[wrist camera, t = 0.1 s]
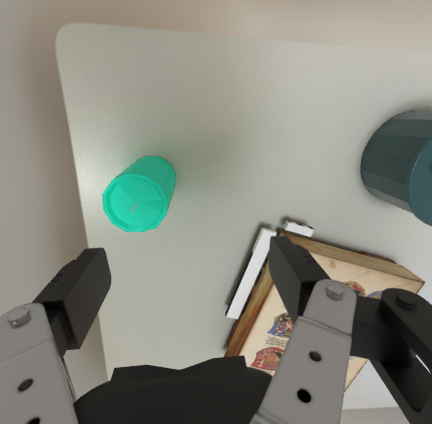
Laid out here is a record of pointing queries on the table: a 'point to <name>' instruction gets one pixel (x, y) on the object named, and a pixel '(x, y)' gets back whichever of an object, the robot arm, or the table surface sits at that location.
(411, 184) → the pot lid
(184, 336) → the table surface
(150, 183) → the candle
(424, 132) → the pot
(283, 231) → the book
